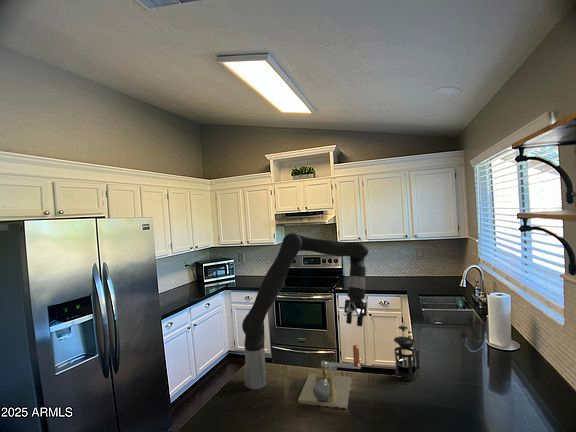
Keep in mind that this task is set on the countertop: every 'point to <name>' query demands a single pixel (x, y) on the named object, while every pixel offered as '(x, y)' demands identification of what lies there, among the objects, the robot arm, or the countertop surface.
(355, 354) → the valve lever
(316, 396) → the valve
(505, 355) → the countertop surface
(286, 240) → the robot arm
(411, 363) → the french press
